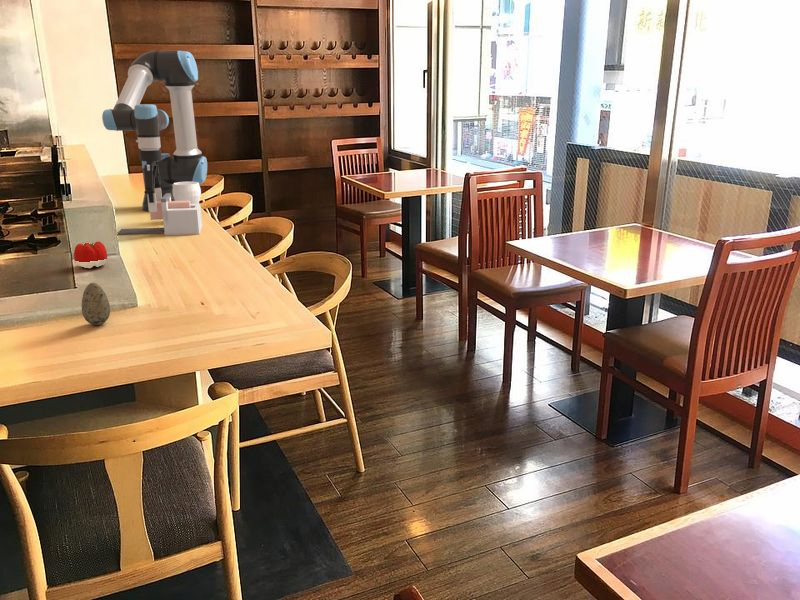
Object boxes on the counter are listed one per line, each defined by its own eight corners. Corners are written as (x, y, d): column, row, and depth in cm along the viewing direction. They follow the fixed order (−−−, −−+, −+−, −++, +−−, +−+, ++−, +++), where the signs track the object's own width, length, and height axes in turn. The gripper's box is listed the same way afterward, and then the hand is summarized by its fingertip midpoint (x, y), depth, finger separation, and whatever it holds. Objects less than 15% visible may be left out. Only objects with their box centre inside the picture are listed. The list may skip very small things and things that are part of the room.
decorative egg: (84, 330, 152) (77, 288, 149) (84, 322, 158) (78, 281, 155) (112, 326, 155) (106, 285, 152) (111, 318, 160) (106, 278, 157)
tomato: (69, 269, 201) (66, 244, 199) (92, 262, 209) (88, 238, 207) (94, 272, 198) (91, 247, 196) (116, 265, 206) (113, 241, 204)
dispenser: (169, 227, 257) (166, 193, 253) (202, 226, 259) (199, 192, 255) (164, 235, 245) (160, 199, 241) (199, 234, 247) (195, 198, 243)
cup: (207, 218, 274) (204, 181, 270) (197, 224, 264) (193, 185, 259) (182, 218, 275) (178, 181, 271) (171, 223, 265) (167, 185, 260)
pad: (121, 230, 253) (121, 228, 252) (166, 228, 255) (166, 227, 255) (117, 235, 245) (117, 233, 245) (163, 233, 248) (163, 231, 248)
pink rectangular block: (152, 217, 250) (150, 201, 248) (191, 216, 253) (190, 200, 251) (150, 219, 247) (149, 203, 245) (190, 218, 249) (189, 202, 247)
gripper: (144, 146, 252) (150, 203, 258) (132, 152, 229) (139, 214, 235) (165, 146, 253) (171, 202, 260) (155, 152, 230) (161, 214, 236)
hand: (156, 208), depth 247 cm, fingers open, 13 cm apart
